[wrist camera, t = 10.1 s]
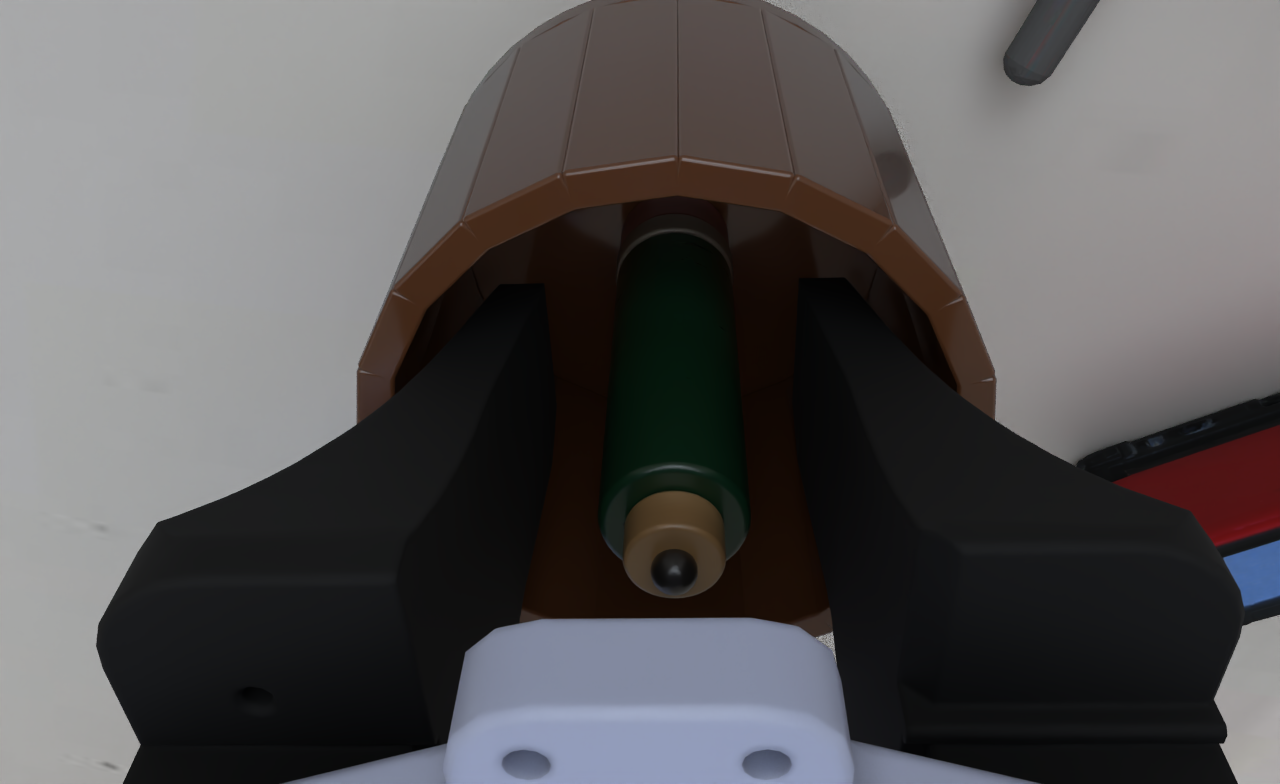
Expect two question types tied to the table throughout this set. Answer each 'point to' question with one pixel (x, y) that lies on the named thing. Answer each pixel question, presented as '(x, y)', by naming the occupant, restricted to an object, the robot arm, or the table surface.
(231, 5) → the table surface
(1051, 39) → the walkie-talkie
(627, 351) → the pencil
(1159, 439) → the handheld console
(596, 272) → the pencil cup
